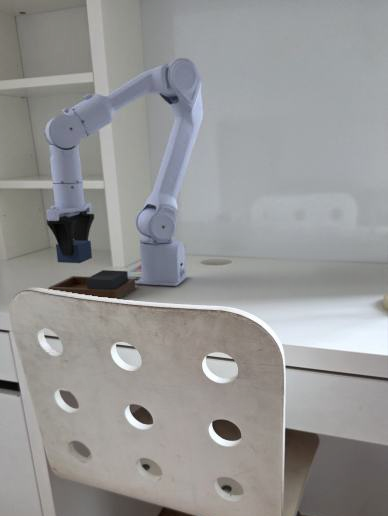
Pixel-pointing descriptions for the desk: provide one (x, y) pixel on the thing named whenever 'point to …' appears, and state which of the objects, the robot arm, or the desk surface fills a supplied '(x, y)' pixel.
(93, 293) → the pad tray
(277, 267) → the desk surface
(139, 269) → the smartphone
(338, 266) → the desk surface
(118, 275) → the charcoal pad
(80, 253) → the navy blue cube
